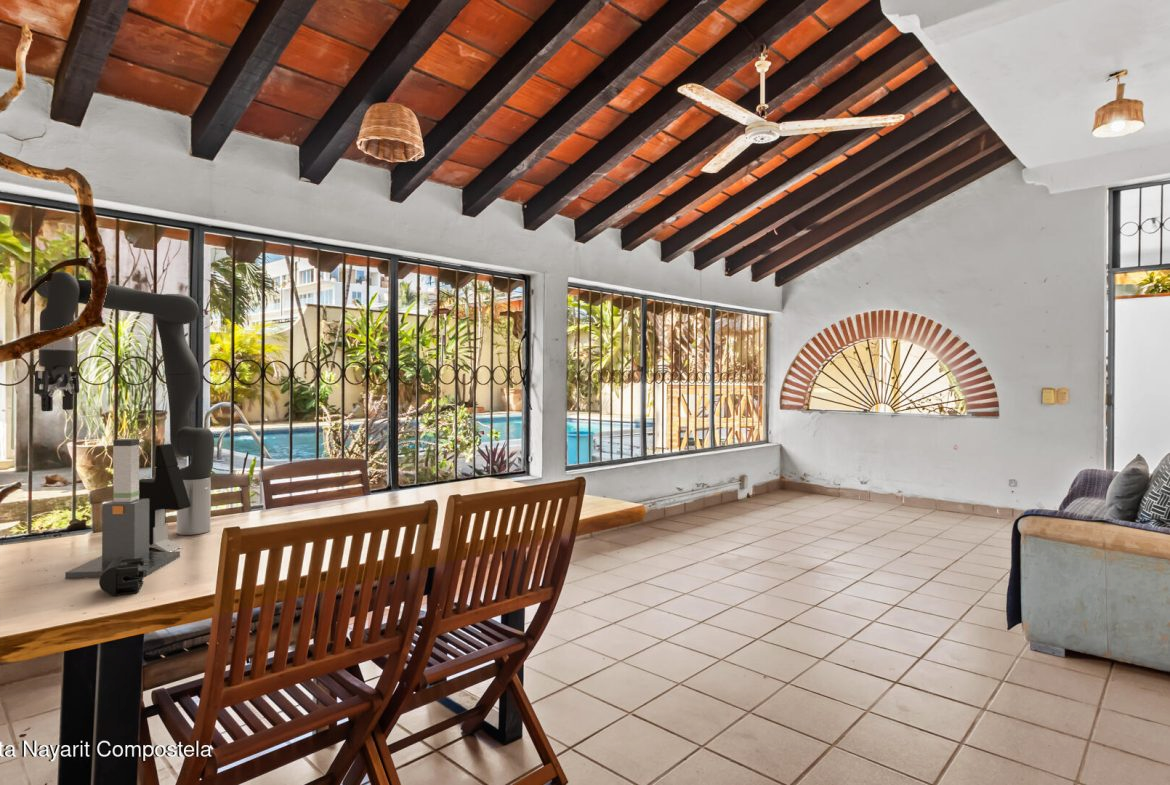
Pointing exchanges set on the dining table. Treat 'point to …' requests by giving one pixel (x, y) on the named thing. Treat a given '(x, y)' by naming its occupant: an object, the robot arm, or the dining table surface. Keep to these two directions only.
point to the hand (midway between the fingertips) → (57, 410)
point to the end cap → (122, 577)
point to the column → (126, 470)
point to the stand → (124, 540)
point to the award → (163, 496)
